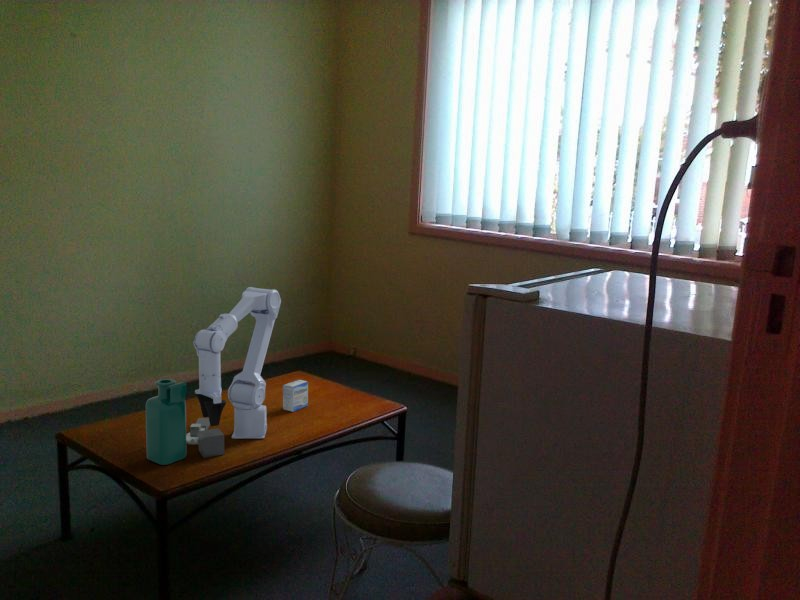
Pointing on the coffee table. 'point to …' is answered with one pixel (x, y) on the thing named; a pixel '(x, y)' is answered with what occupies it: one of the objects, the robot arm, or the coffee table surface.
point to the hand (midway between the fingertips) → (210, 421)
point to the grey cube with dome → (211, 442)
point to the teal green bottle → (166, 423)
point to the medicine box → (295, 395)
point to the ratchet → (194, 428)
